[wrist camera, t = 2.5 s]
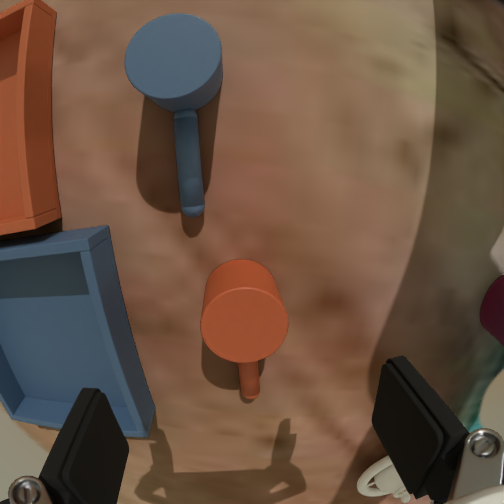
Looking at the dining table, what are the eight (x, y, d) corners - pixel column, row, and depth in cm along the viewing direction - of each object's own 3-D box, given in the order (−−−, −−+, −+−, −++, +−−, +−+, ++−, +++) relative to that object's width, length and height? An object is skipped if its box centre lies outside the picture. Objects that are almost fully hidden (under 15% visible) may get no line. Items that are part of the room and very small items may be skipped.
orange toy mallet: (200, 262, 17) (193, 291, 13) (274, 255, 17) (287, 282, 14) (221, 393, 20) (221, 436, 16) (280, 387, 20) (290, 429, 16)
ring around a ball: (404, 476, 26) (436, 430, 24) (420, 511, 21) (460, 468, 18) (342, 486, 25) (369, 441, 23) (353, 527, 20) (388, 488, 18)
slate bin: (-31, 246, 16) (-57, 259, 13) (108, 224, 16) (87, 238, 13) (25, 397, 19) (11, 419, 17) (155, 408, 20) (148, 437, 17)
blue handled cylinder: (145, 49, 14) (124, 22, 10) (220, 39, 14) (219, 7, 10) (158, 218, 16) (138, 237, 13) (233, 211, 17) (235, 227, 13)
